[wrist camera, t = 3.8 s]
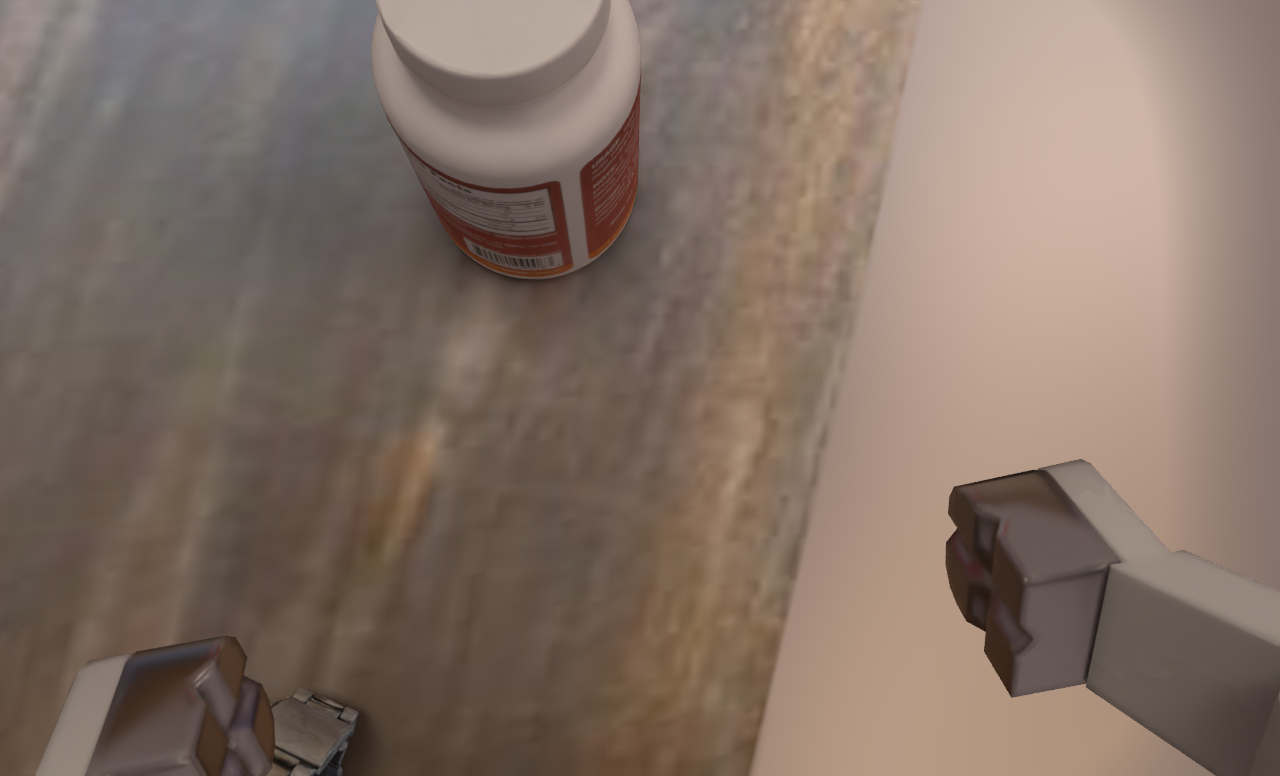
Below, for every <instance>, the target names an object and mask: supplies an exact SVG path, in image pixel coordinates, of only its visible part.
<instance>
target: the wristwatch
mask: <svg viewBox="0 0 1280 776" xmlns="http://www.w3.org/2000/svg"><path fill="white" fill-rule="evenodd" d="M271 709H272V712H273V716H274V726H275V751H274V758H273V764H272V769H271V770H270V772H269V773H268V774H267V775H266V776H342V767H341V763H342V760H343V757H344V755H345V752H346V750H347V747H348V737H351V736H352V735H353V734H354V729H355V727H356V721H357V717H358V715H359V713H358V711H355V710H353V709H351V708H348V707H345V706H342V705H339V704H337V703H335V702H334V701H332V700H330V699H327V698H325V697H323V696H321V695H318V694H314V693H311V692H309V691H307V690H305V689H301V688H299V689H298V690H297V691H295V692H294V693H293V694H292V695H291V696H286V697H285V699H283V700H281V701H278V702H276V703H275V704H274V705H272V706H271Z"/></svg>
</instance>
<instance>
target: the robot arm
mask: <svg viewBox="0 0 1280 776" xmlns="http://www.w3.org/2000/svg"><path fill="white" fill-rule="evenodd" d="M948 514H949V516H950V517H951V519H952V520H953V522H954V524H955V525H956V527H957V530H956V531H955V532H954V533H953V534H952V536H951V537H950V538H949V539H948V541H947V542H946V569H947V574H948V579H949V584H950V588H951V590H952V593H953V596H954V598H955V601H956V603H957V605H958V607H959V609H960V611H961V612H962V614H963V616H964V618H965V619H966V621H967V622H969V623H971V624H972V625H974V626H976V627H978V628H980V629H982V630H983V631H985V632H986V635H985V646H984V652H985V654H986V655H987V657H988V659H989V660H990V662H991V664H992V666H993V667H994V669H995V670H996V672H997V674H998V676H999V677H1000V679H1001V681H1002V682H1003V684H1004V686H1005V687H1006V689H1007V691H1008V692H1009V694H1010V696H1011V697H1017V696H1023V695H1028V694H1033V693H1039V692H1044V691H1049V690H1054V689H1059V688H1065V687H1070V686H1076V685H1081V684H1086V683H1087V684H1086V688H1088V689H1089V690H1091V691H1092V692H1094V693H1095V694H1096V695H1098V696H1100V697H1101V698H1102V699H1104V700H1105V701H1107V702H1108V703H1110V704H1111V705H1113V706H1114V707H1116V708H1117V709H1119V710H1120V711H1122V712H1123V713H1125V714H1126V715H1127V716H1129V717H1130V718H1132V719H1133V720H1135V721H1136V722H1138V723H1139V724H1141V725H1142V726H1144V727H1145V728H1147V729H1148V730H1149V731H1151V732H1153V733H1154V734H1155V735H1157V736H1158V737H1160V738H1161V739H1163V740H1164V741H1166V742H1167V743H1169V744H1170V745H1172V746H1173V747H1175V748H1176V749H1178V750H1179V751H1181V752H1182V753H1183V754H1185V755H1186V756H1188V757H1189V758H1191V759H1192V760H1194V761H1195V762H1197V763H1198V764H1200V765H1201V766H1202V767H1204V768H1206V769H1207V770H1208V771H1210V772H1212V773H1213V774H1214V775H1216V776H1280V591H1279V590H1277V589H1274V588H1272V587H1270V586H1267V585H1265V584H1263V583H1260V582H1258V581H1256V580H1253V579H1251V578H1249V577H1246V576H1244V575H1241V574H1239V573H1237V572H1234V571H1232V570H1230V569H1227V568H1225V567H1223V566H1220V565H1218V564H1215V563H1213V562H1211V561H1208V560H1206V559H1204V558H1201V557H1199V556H1196V555H1194V554H1192V553H1189V552H1187V551H1185V550H1181V551H1176V552H1170V551H1169V550H1168V549H1167V548H1166V547H1165V545H1164V544H1163V543H1162V542H1161V541H1160V540H1159V539H1158V538H1157V537H1156V535H1155V534H1154V533H1153V532H1152V531H1151V530H1150V529H1149V528H1148V527H1147V525H1146V524H1144V522H1143V521H1142V520H1141V519H1140V518H1139V517H1138V515H1137V514H1135V512H1134V511H1133V510H1132V509H1131V508H1130V507H1129V505H1128V504H1127V503H1126V502H1125V501H1124V500H1123V499H1122V498H1121V497H1120V496H1119V495H1118V493H1117V492H1116V491H1115V490H1114V489H1113V488H1112V487H1111V486H1110V484H1109V483H1108V482H1107V481H1106V480H1105V479H1104V478H1103V477H1102V476H1101V474H1100V473H1099V472H1098V471H1097V470H1096V469H1095V468H1094V467H1093V466H1092V465H1091V463H1089V462H1086V461H1084V460H1082V459H1079V460H1075V461H1070V462H1065V463H1061V464H1056V465H1052V466H1047V467H1043V468H1039V469H1038V470H1031V471H1026V472H1021V473H1016V474H1012V475H1007V476H1003V477H997V478H993V479H988V480H983V481H979V482H974V483H970V484H965V485H960V486H956V487H954V488H953V490H952V492H951V494H950V497H949V509H948ZM246 661H247V656H246V654H245V653H244V651H243V649H242V647H241V646H240V644H239V642H238V641H237V639H236V637H231V636H221V637H215V638H209V639H204V640H198V641H193V642H187V643H182V644H176V645H170V646H165V647H159V648H154V649H148V650H143V651H137V652H135V653H133V654H127V655H121V656H115V657H109V658H104V659H98V660H92V661H89V662H88V663H86V664H85V665H84V666H83V667H82V668H81V669H80V670H79V671H78V673H77V674H76V676H75V679H74V681H73V684H72V686H71V689H70V691H69V693H68V696H67V698H66V701H65V703H64V705H63V708H62V710H61V713H60V715H59V718H58V720H57V722H56V725H55V727H54V730H53V732H52V735H51V737H50V739H49V742H48V744H47V747H46V749H45V752H44V754H43V756H42V759H41V761H40V764H39V766H38V769H37V771H36V773H35V776H266V775H267V774H268V773H269V772H270V770H271V769H272V764H273V758H274V751H275V726H274V716H273V712H272V709H271V705H270V702H269V699H268V697H267V695H266V693H265V691H264V689H263V687H262V685H261V684H260V683H258V682H256V681H254V680H252V679H250V678H248V677H246V676H244V670H245V666H246Z"/></svg>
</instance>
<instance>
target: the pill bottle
mask: <svg viewBox="0 0 1280 776" xmlns="http://www.w3.org/2000/svg"><path fill="white" fill-rule="evenodd" d="M375 2H376V6H377V9H378V15H377V18H376V22H375V25H374V30H373V35H372V44H371V66H372V73H373V79H374V83H375V87H376V90H377V94H378V97H379V99H380V101H381V104H382V106H383V109H384V111H385V113H386V116H387V118H388V120H389V122H390V124H391V126H392V128H393V129H394V131H395V133H396V135H397V137H398V139H399V141H400V143H401V144H402V146H403V148H404V150H405V152H406V154H407V156H408V158H409V160H410V163H411V165H412V167H413V169H414V171H415V172H416V174H417V176H418V178H419V180H420V182H421V184H422V186H423V188H424V190H425V192H426V194H427V196H428V198H429V200H430V202H431V204H432V206H433V208H434V210H435V212H436V214H437V216H438V218H439V220H440V222H441V224H442V225H443V227H444V228H445V230H446V232H447V233H448V235H449V236H450V237H451V239H452V240H453V241H454V242H455V244H456V245H457V246H458V247H459V248H460V249H461V250H462V251H463V252H464V253H465V254H467V255H468V256H469V257H470V258H472V259H473V260H474V261H476V262H478V263H479V264H481V265H482V266H484V267H486V268H488V269H490V270H493V271H495V272H497V273H500V274H503V275H506V276H510V277H515V278H523V279H548V278H554V277H558V276H562V275H565V274H568V273H571V272H573V271H576V270H578V269H580V268H582V267H584V266H586V265H588V264H589V263H591V262H592V261H594V260H595V259H597V258H598V257H599V256H600V255H602V254H603V253H604V252H605V251H606V250H607V249H608V248H609V247H610V246H611V245H612V243H613V242H614V241H615V240H616V238H617V237H618V236H619V234H620V233H621V231H622V230H623V228H624V226H625V225H626V223H627V221H628V219H629V216H630V214H631V211H632V208H633V205H634V201H635V196H636V190H637V184H638V154H639V116H640V86H641V51H640V39H639V32H638V28H637V24H636V21H635V17H634V14H633V11H632V8H631V6H630V3H629V1H628V0H375Z"/></svg>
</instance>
